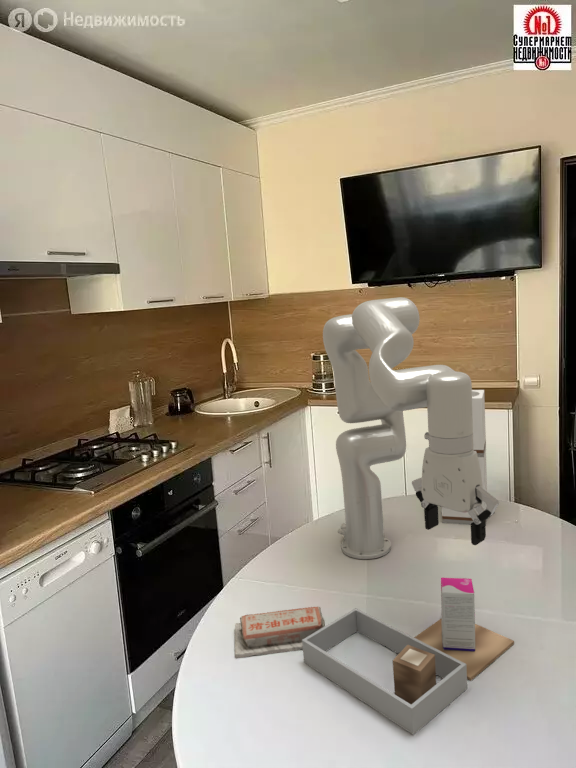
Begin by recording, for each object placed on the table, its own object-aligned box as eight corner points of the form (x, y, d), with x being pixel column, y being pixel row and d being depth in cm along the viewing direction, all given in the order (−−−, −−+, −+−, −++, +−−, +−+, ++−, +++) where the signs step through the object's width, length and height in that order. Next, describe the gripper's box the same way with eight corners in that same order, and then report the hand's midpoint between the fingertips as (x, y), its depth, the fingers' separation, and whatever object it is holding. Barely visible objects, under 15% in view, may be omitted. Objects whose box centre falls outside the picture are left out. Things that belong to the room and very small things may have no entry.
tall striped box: (487, 510, 168) (484, 389, 162) (485, 525, 159) (481, 398, 153) (446, 508, 173) (441, 390, 166) (442, 523, 163) (436, 398, 157)
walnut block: (395, 698, 98) (392, 659, 97) (409, 681, 102) (407, 644, 101) (422, 710, 95) (420, 670, 94) (436, 692, 99) (434, 654, 97)
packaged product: (320, 598, 122) (327, 625, 113) (322, 619, 123) (329, 648, 113) (233, 608, 121) (232, 637, 111) (235, 630, 122) (235, 660, 112)
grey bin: (303, 662, 109) (301, 640, 108) (357, 628, 118) (355, 607, 117) (413, 734, 90) (411, 708, 89) (467, 688, 99) (466, 664, 98)
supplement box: (476, 652, 107) (474, 593, 105) (442, 650, 108) (440, 592, 106) (473, 633, 112) (471, 577, 110) (441, 631, 114) (438, 576, 112)
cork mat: (405, 646, 111) (405, 643, 111) (449, 615, 120) (449, 612, 120) (470, 681, 100) (470, 677, 100) (514, 643, 109) (514, 640, 109)
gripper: (398, 440, 108) (402, 528, 111) (483, 457, 94) (485, 557, 97) (423, 430, 112) (427, 515, 115) (508, 445, 99) (510, 541, 102)
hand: (454, 534), depth 106 cm, fingers open, 9 cm apart
